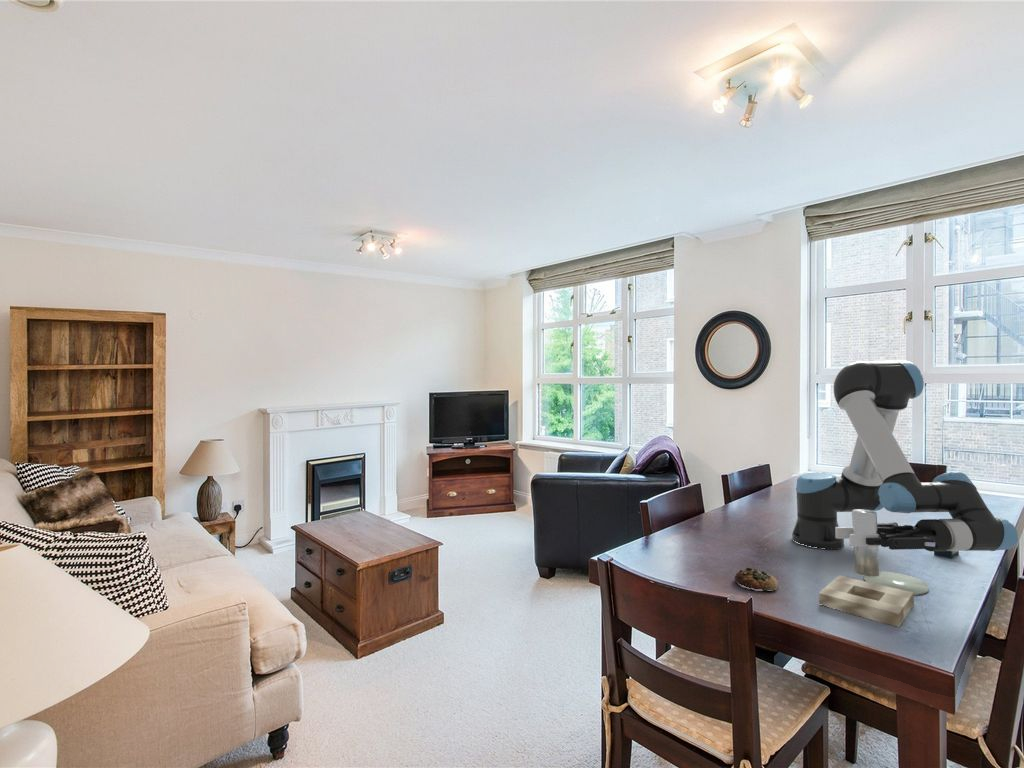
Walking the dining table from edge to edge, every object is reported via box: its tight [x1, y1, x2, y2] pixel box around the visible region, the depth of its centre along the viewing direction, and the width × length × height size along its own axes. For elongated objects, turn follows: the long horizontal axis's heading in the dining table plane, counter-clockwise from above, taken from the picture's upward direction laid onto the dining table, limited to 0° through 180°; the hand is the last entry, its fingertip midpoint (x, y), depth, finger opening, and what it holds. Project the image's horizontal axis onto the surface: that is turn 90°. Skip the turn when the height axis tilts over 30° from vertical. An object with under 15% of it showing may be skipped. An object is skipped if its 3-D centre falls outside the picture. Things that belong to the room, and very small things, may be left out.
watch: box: [933, 551, 960, 560], centre depth 157 cm, size 6×8×11 cm
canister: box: [851, 509, 880, 577], centre depth 124 cm, size 5×5×15 cm
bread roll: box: [734, 567, 779, 591], centre depth 139 cm, size 11×11×5 cm
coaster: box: [863, 570, 930, 596], centre depth 136 cm, size 14×14×1 cm
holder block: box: [818, 575, 915, 628], centre depth 124 cm, size 16×16×3 cm
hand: (843, 536), depth 124 cm, fingers closed on canister, 5 cm apart
